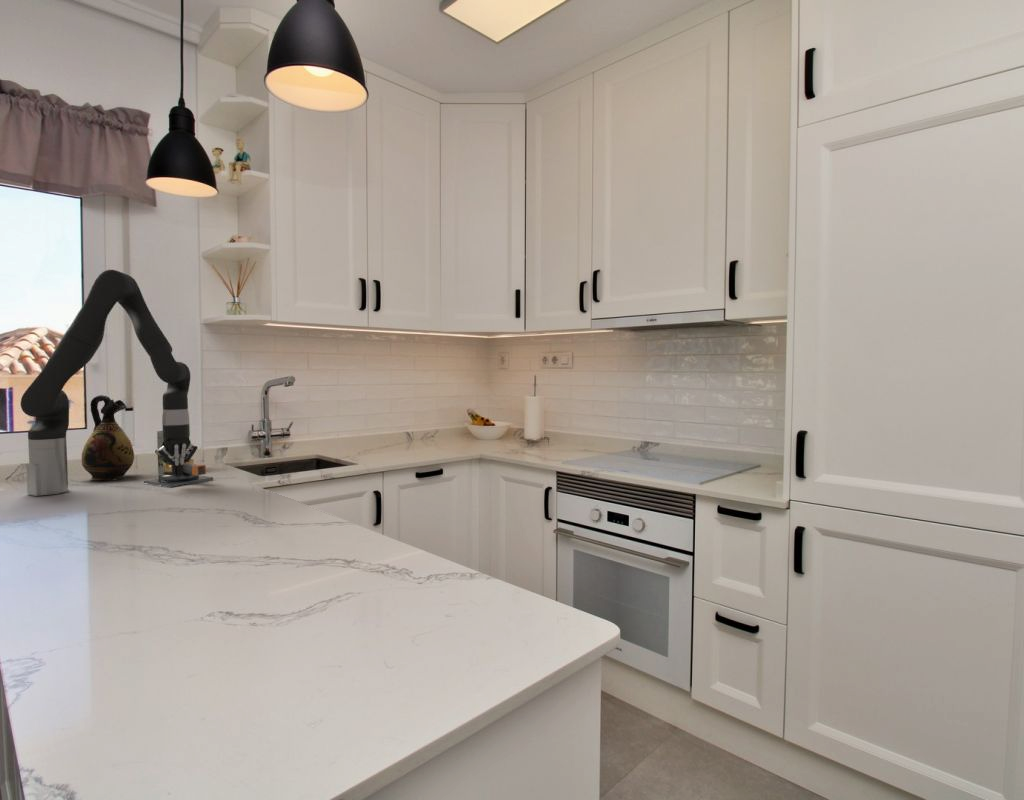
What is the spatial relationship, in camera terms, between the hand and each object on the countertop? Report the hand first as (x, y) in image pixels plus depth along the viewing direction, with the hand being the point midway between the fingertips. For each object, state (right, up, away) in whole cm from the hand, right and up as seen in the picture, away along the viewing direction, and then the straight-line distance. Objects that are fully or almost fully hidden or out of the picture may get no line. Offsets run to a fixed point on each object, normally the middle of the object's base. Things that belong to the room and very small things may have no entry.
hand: (177, 476), depth 183 cm
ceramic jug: (-37, -4, +19) cm, 41 cm away
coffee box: (-22, -3, +34) cm, 40 cm away
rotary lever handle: (-3, 0, +9) cm, 10 cm away
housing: (-6, -3, +12) cm, 14 cm away
